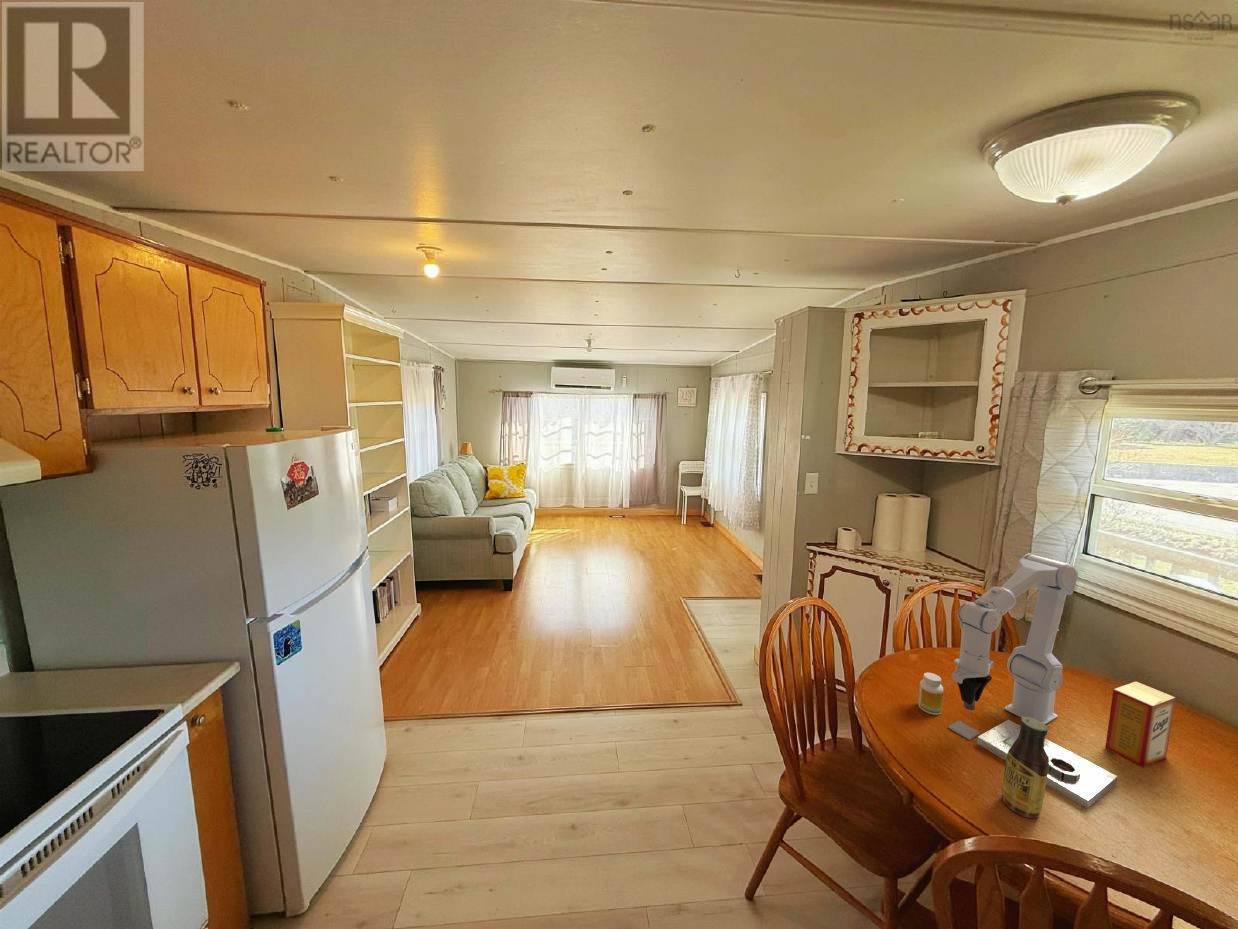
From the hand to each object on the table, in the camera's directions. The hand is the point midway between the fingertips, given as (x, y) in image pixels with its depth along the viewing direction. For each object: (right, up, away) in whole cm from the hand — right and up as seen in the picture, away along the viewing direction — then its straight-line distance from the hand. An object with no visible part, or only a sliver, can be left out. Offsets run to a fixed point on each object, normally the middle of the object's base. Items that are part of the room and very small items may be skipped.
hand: (969, 700), depth 113 cm
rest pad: (0, -9, +2) cm, 9 cm away
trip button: (+10, -10, -13) cm, 20 cm away
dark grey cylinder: (0, -2, 0) cm, 2 cm away
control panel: (+10, -10, -9) cm, 17 cm away
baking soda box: (+35, -10, -6) cm, 37 cm away
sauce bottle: (-5, -12, -20) cm, 24 cm away
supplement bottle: (-3, -8, +10) cm, 13 cm away
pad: (+6, -9, -5) cm, 12 cm away
